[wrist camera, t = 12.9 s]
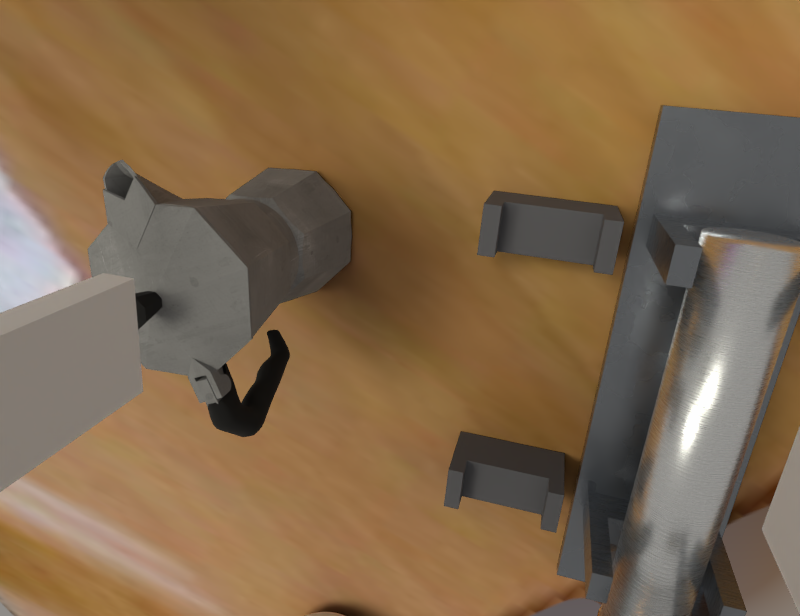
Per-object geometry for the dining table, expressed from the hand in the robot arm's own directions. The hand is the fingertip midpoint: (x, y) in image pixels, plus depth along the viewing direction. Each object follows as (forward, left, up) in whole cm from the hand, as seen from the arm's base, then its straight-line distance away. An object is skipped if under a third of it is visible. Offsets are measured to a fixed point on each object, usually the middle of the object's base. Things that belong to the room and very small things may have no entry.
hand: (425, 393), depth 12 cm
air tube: (+14, +12, -25) cm, 31 cm away
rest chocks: (+11, +2, -29) cm, 31 cm away
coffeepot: (+6, -15, -29) cm, 33 cm away
